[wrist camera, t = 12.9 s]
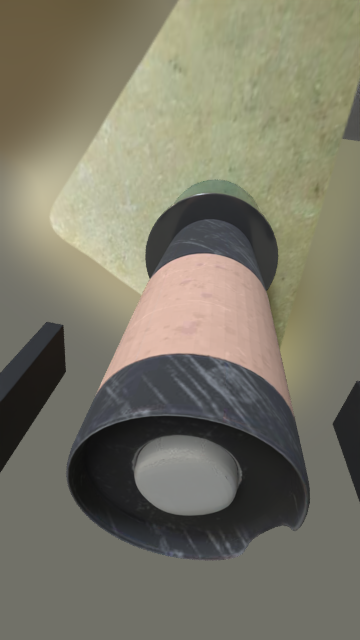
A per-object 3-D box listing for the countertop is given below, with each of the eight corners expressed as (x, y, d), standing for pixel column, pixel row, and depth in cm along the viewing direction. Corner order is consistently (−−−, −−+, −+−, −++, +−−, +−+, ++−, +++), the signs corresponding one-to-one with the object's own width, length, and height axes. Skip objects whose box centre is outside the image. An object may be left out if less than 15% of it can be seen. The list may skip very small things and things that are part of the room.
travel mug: (157, 219, 26) (23, 409, 9) (257, 209, 25) (329, 408, 8) (170, 306, 30) (95, 555, 13) (258, 301, 28) (306, 570, 11)
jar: (266, 169, 32) (280, 185, 24) (265, 273, 37) (276, 316, 29) (156, 181, 33) (134, 200, 25) (170, 279, 39) (156, 321, 31)
